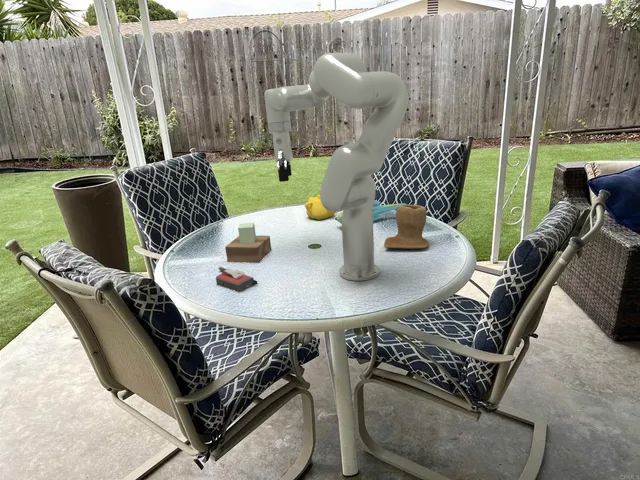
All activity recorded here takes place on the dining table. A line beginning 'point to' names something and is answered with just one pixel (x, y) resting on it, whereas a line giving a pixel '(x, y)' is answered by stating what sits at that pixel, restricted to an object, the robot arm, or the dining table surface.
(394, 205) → the decorative bird
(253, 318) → the dining table surface
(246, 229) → the sage block
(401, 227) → the clay spout
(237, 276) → the walkie-talkie
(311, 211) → the teapot
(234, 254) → the walnut box
